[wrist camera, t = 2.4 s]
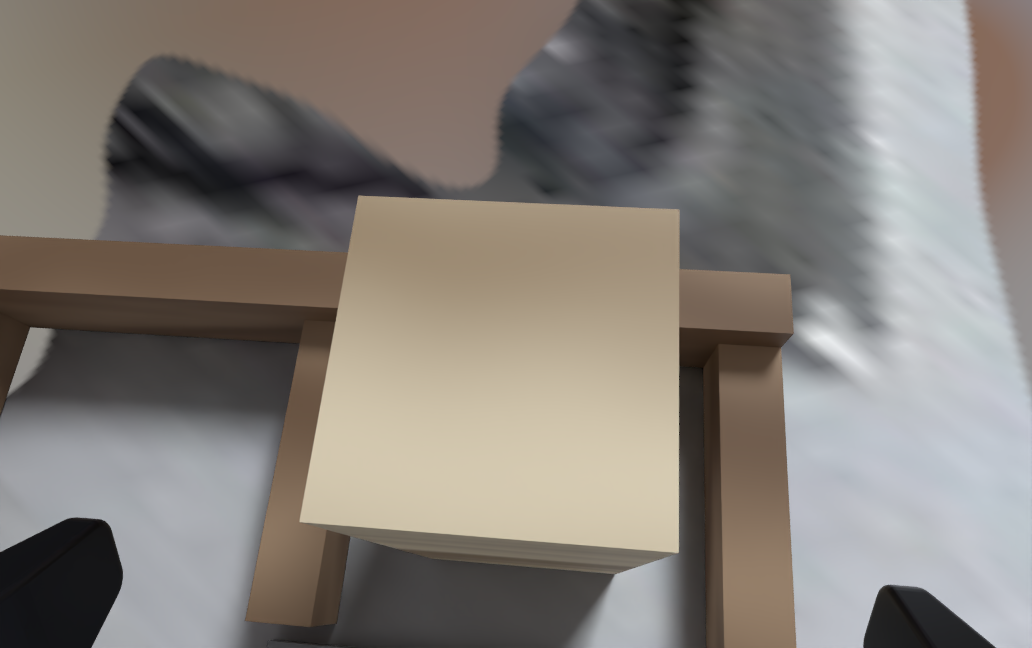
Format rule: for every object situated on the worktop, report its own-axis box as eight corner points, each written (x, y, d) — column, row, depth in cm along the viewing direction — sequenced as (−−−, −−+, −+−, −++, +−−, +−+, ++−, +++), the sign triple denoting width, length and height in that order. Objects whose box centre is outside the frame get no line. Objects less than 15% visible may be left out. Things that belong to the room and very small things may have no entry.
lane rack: (771, 663, 17) (813, 677, 14) (-112, 581, 19) (-231, 580, 16) (757, 309, 20) (789, 263, 17) (2, 269, 22) (-80, 221, 19)
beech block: (614, 574, 18) (678, 552, 8) (432, 558, 18) (299, 521, 9) (620, 394, 19) (679, 209, 10) (453, 384, 20) (357, 195, 10)
